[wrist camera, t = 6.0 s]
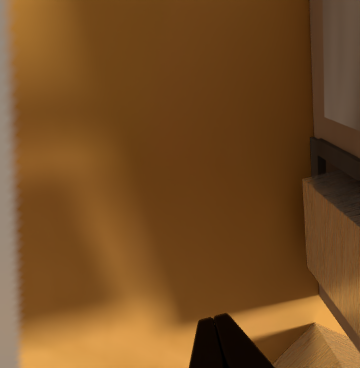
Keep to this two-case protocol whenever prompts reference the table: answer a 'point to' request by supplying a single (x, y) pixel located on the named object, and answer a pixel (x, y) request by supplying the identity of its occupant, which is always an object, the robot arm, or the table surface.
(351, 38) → the socket block
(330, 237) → the peg
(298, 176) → the table surface
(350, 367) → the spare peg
